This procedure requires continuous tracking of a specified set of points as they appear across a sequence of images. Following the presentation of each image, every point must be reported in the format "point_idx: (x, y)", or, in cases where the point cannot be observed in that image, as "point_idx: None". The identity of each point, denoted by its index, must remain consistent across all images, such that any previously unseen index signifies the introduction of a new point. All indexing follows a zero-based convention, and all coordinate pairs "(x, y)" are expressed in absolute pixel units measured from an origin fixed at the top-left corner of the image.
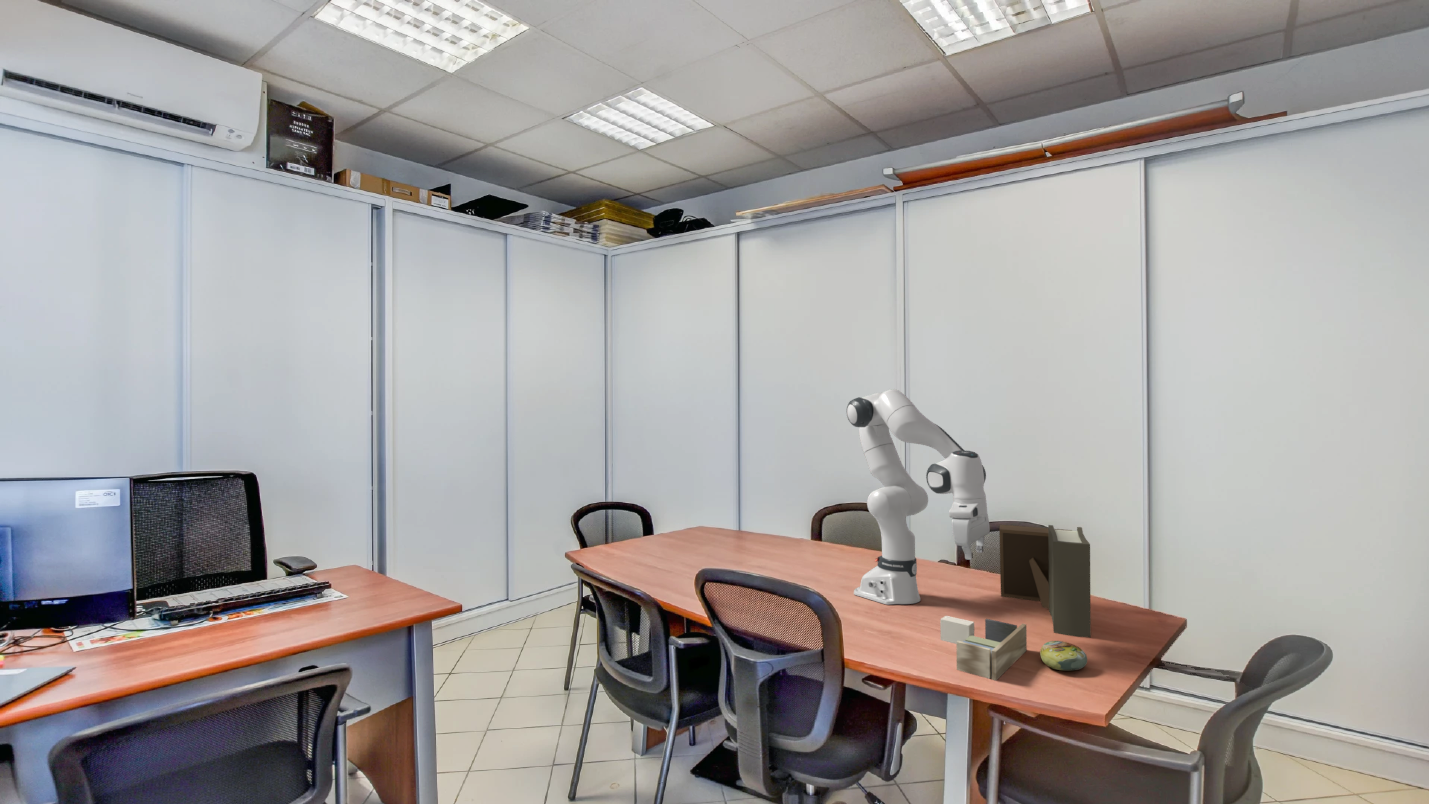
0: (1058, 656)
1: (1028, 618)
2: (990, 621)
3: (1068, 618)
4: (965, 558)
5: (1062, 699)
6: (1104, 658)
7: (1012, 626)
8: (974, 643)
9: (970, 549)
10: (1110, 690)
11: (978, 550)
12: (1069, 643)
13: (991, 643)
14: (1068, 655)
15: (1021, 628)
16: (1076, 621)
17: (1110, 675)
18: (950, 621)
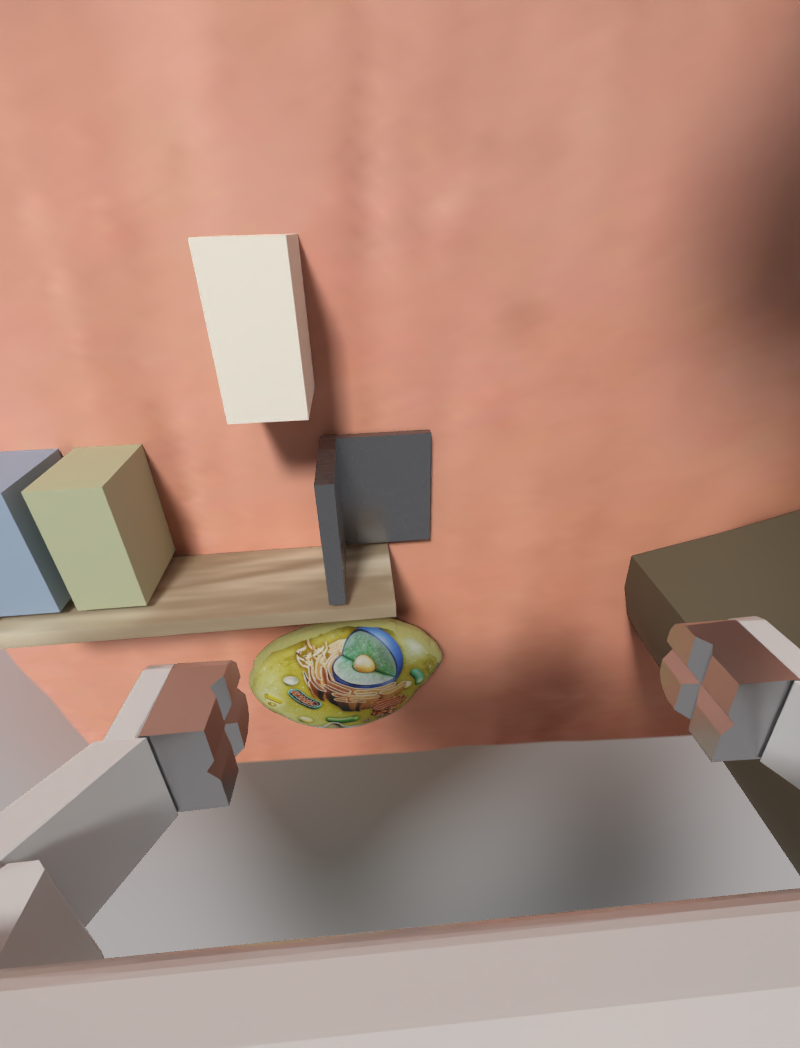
0: (268, 699)
1: (772, 442)
2: (318, 506)
3: (655, 636)
4: (146, 672)
5: (103, 711)
6: (475, 695)
7: (327, 591)
8: (20, 538)
9: (79, 908)
10: (263, 748)
11: (683, 664)
12: (392, 697)
13: (96, 581)
14: (291, 716)
15: (327, 621)
16: (652, 648)
17: (360, 728)
18: (204, 312)
